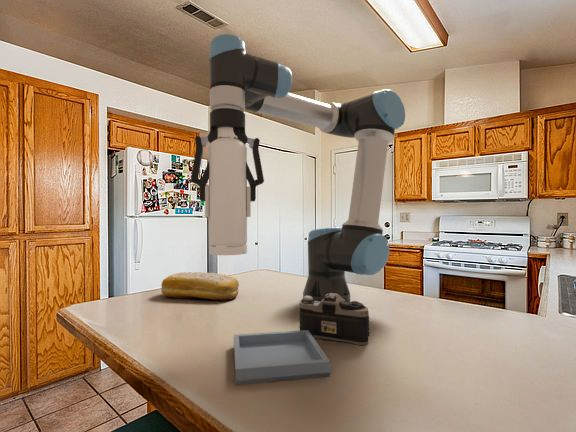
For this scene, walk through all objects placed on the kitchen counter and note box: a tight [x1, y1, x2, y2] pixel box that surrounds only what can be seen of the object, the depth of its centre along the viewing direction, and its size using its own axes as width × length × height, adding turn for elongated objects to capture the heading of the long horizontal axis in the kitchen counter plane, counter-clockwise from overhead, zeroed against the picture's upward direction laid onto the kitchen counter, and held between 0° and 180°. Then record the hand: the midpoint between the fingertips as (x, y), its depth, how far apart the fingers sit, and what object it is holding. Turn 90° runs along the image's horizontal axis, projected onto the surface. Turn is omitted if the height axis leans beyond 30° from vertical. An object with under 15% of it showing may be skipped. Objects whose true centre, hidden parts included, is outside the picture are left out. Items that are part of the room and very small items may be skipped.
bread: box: [160, 271, 240, 302], centre depth 115 cm, size 13×26×8 cm, turn 80°
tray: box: [233, 329, 331, 385], centre depth 64 cm, size 16×16×2 cm
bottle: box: [208, 127, 248, 256], centre depth 73 cm, size 8×8×28 cm
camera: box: [299, 293, 370, 346], centre depth 78 cm, size 16×10×10 cm, turn 66°
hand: (228, 216), depth 73 cm, fingers closed on bottle, 8 cm apart
